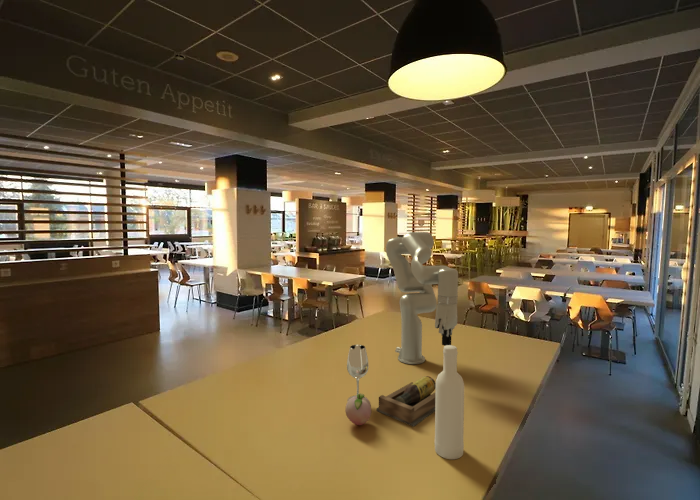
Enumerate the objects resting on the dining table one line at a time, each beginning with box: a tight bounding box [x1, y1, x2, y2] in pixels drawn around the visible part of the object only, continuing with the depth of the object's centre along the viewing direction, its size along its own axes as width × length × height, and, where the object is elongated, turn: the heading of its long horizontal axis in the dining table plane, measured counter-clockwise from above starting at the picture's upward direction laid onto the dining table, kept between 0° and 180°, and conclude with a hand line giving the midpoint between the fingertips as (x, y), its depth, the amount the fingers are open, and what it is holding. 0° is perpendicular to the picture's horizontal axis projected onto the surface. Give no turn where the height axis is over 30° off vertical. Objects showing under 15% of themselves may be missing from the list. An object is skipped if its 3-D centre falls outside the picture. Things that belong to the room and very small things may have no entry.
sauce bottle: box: [396, 375, 436, 405], centre depth 133 cm, size 7×6×20 cm
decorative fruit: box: [344, 392, 372, 426], centre depth 119 cm, size 9×8×10 cm
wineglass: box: [346, 344, 370, 402], centre depth 135 cm, size 8×8×20 cm
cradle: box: [375, 382, 436, 428], centre depth 131 cm, size 15×22×5 cm
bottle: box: [434, 344, 465, 460], centre depth 104 cm, size 8×8×30 cm
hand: (446, 345), depth 148 cm, fingers closed
